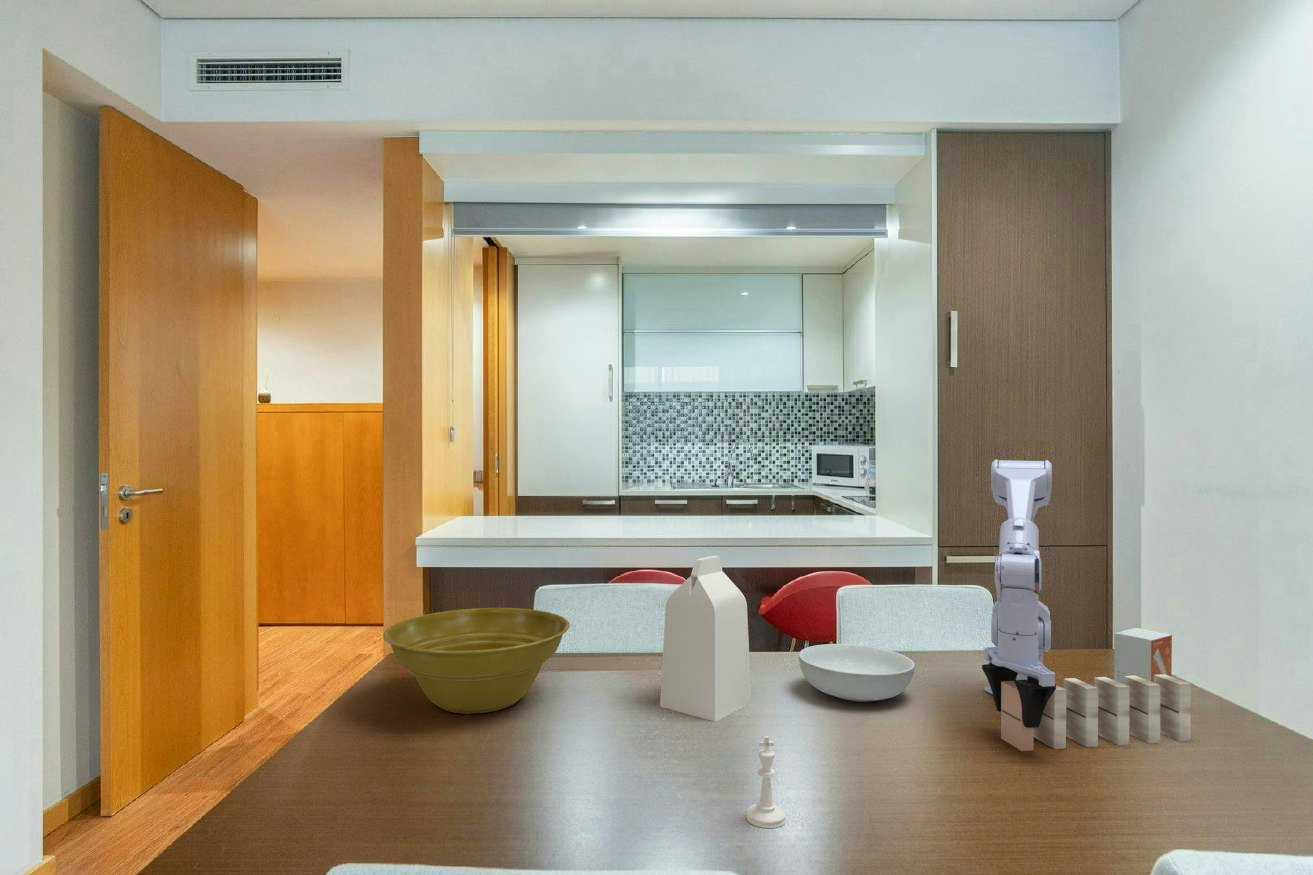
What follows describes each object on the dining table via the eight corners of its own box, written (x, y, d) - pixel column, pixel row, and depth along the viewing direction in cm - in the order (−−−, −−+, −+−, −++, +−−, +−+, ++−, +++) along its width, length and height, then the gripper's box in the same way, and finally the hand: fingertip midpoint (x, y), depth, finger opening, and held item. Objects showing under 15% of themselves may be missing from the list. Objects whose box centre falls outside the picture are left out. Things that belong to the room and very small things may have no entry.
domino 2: (1063, 734, 121) (1063, 678, 121) (1074, 734, 121) (1075, 678, 121) (1086, 747, 116) (1086, 688, 116) (1097, 746, 116) (1098, 687, 116)
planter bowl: (341, 724, 122) (342, 641, 122) (443, 668, 153) (443, 602, 153) (525, 745, 114) (526, 656, 114) (593, 681, 145) (593, 612, 146)
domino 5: (1153, 729, 123) (1153, 674, 124) (1164, 728, 124) (1164, 674, 124) (1179, 741, 118) (1179, 684, 119) (1190, 740, 119) (1190, 683, 119)
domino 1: (1032, 736, 120) (1032, 679, 120) (1044, 735, 120) (1044, 679, 120) (1054, 748, 115) (1054, 690, 115) (1066, 748, 115) (1066, 689, 115)
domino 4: (1124, 731, 123) (1124, 676, 123) (1135, 730, 123) (1135, 675, 123) (1148, 743, 118) (1148, 685, 118) (1160, 742, 118) (1160, 685, 118)
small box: (1151, 715, 130) (1151, 639, 130) (1112, 704, 135) (1113, 632, 136) (1172, 706, 135) (1172, 634, 135) (1134, 696, 140) (1134, 626, 140)
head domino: (1001, 738, 119) (1001, 681, 119) (1012, 737, 119) (1012, 680, 119) (1021, 750, 114) (1021, 691, 114) (1033, 750, 114) (1033, 690, 114)
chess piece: (742, 809, 95) (743, 729, 95) (780, 808, 95) (781, 728, 95) (750, 828, 90) (751, 745, 90) (790, 827, 90) (791, 744, 90)
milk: (715, 721, 125) (716, 565, 125) (659, 706, 132) (661, 558, 132) (751, 702, 134) (752, 557, 135) (698, 689, 141) (699, 551, 142)
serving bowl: (931, 715, 129) (931, 674, 129) (809, 712, 130) (809, 672, 130) (895, 677, 150) (895, 643, 150) (790, 676, 150) (790, 641, 151)
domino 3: (1094, 732, 122) (1094, 677, 122) (1105, 732, 122) (1105, 676, 122) (1117, 745, 117) (1117, 687, 117) (1129, 744, 117) (1129, 686, 117)
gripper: (967, 621, 123) (967, 703, 123) (1024, 644, 109) (1024, 737, 109) (1006, 619, 125) (1006, 701, 124) (1068, 642, 110) (1067, 735, 110)
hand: (1017, 718), depth 117 cm, fingers open, 6 cm apart
